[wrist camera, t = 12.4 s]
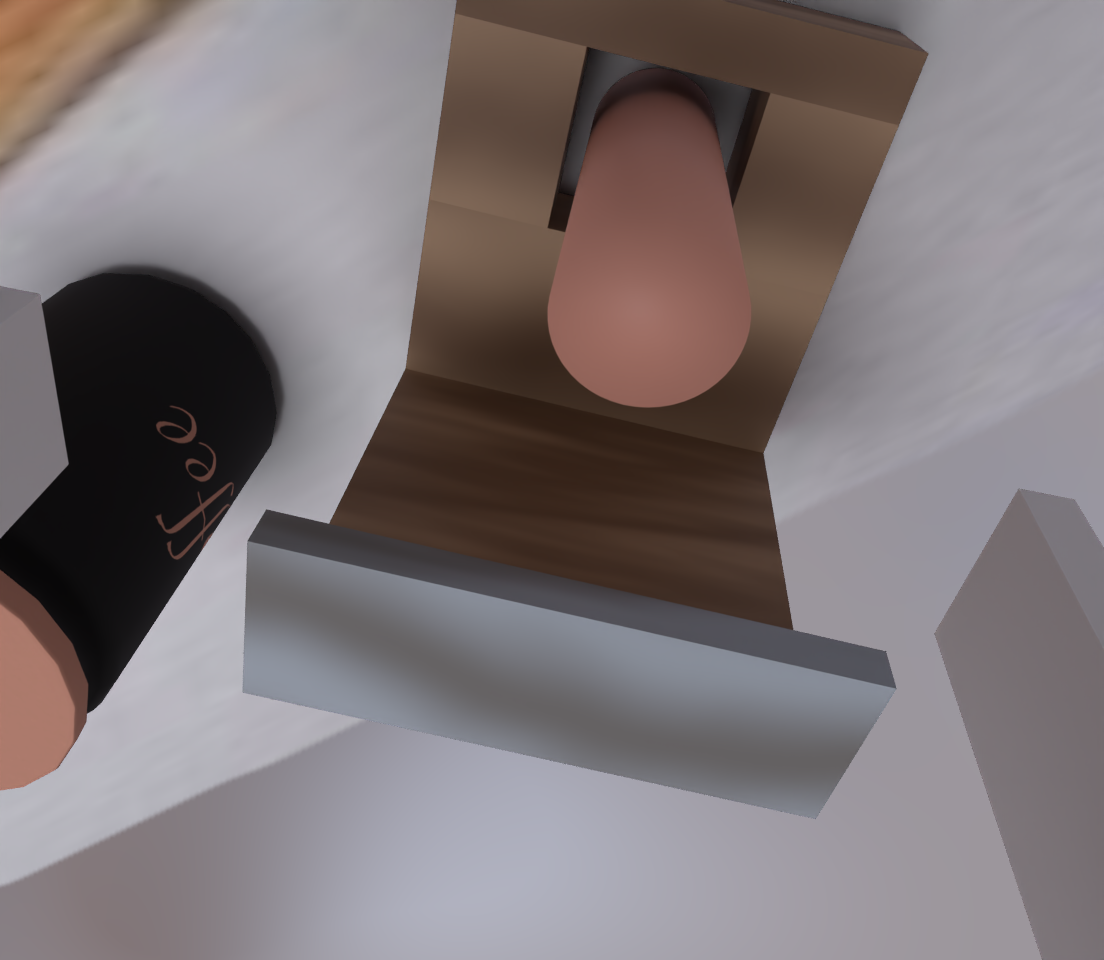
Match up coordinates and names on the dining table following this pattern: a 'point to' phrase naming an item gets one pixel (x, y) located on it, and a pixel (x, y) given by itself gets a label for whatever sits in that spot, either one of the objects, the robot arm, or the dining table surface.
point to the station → (595, 439)
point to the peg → (651, 250)
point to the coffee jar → (120, 496)
